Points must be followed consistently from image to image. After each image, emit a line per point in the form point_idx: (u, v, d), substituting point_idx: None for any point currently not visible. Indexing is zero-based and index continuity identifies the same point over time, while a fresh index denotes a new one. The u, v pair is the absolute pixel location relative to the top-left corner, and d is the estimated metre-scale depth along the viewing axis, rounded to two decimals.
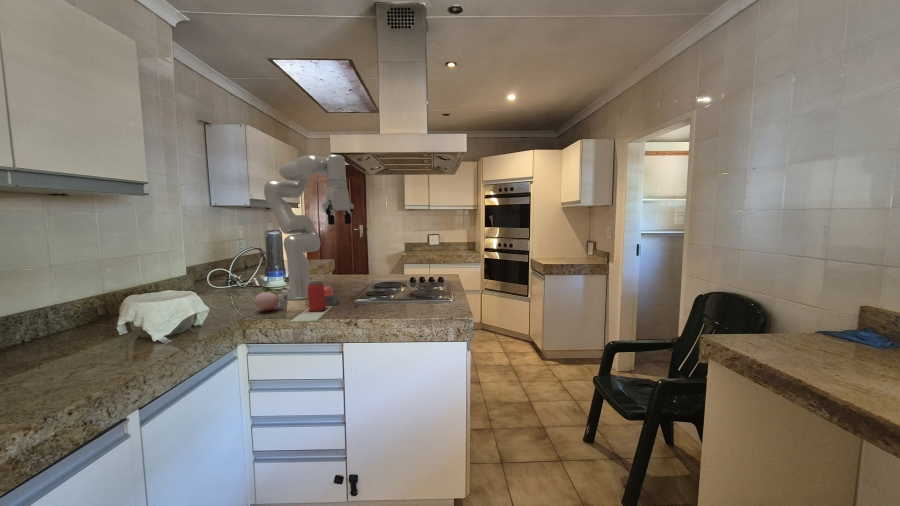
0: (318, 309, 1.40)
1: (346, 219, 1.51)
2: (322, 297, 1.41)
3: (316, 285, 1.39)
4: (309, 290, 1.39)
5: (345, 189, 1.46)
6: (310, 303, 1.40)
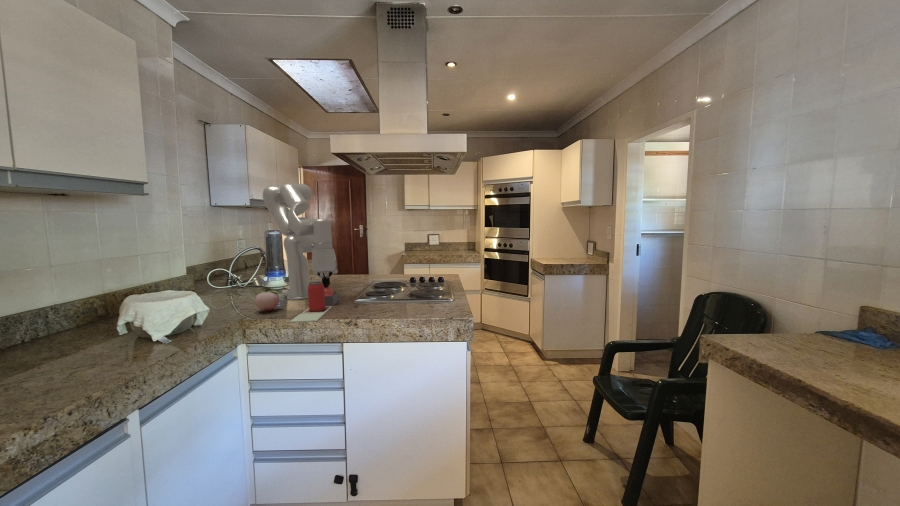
0: (318, 309, 1.40)
1: None
2: (322, 297, 1.41)
3: (316, 285, 1.39)
4: (309, 290, 1.39)
5: None
6: (310, 303, 1.40)
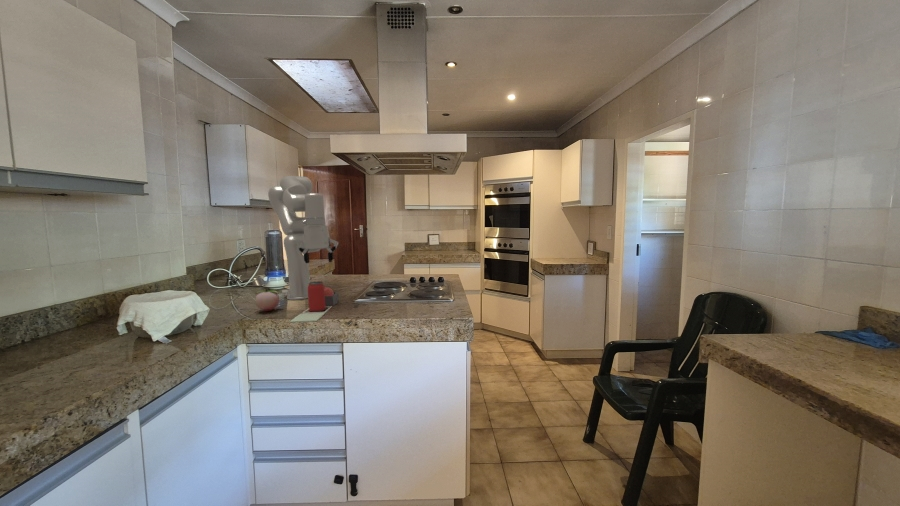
0: (318, 309, 1.40)
1: (307, 258, 1.43)
2: (322, 297, 1.41)
3: (316, 285, 1.39)
4: (309, 290, 1.39)
5: None
6: (310, 303, 1.40)
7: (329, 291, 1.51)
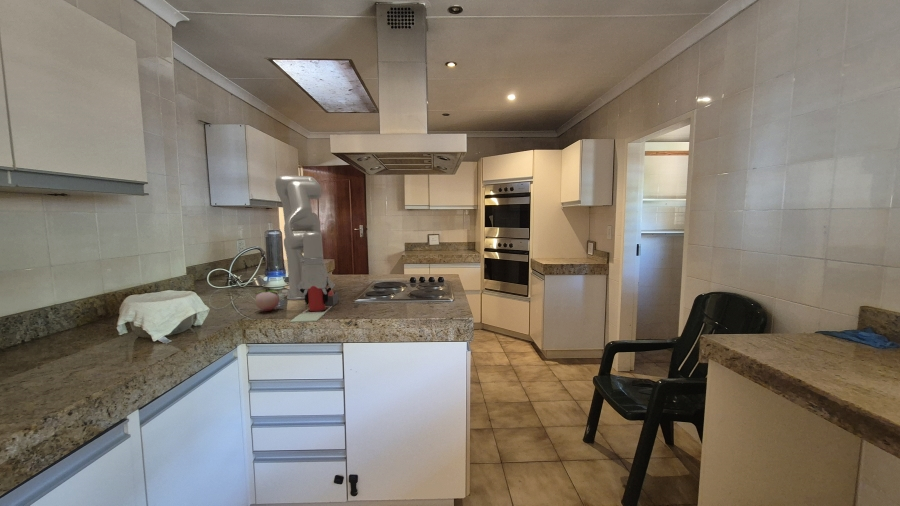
0: (318, 309, 1.40)
1: None
2: (322, 297, 1.41)
3: None
4: (309, 290, 1.39)
5: None
6: (310, 303, 1.40)
7: (329, 291, 1.51)
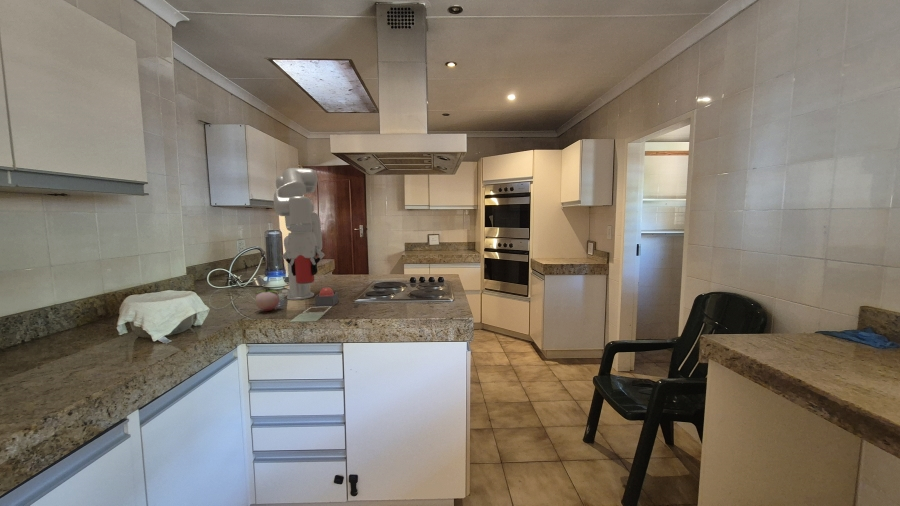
0: (306, 281, 1.28)
1: None
2: (310, 268, 1.29)
3: None
4: (296, 260, 1.27)
5: None
6: (297, 274, 1.27)
7: (329, 291, 1.51)
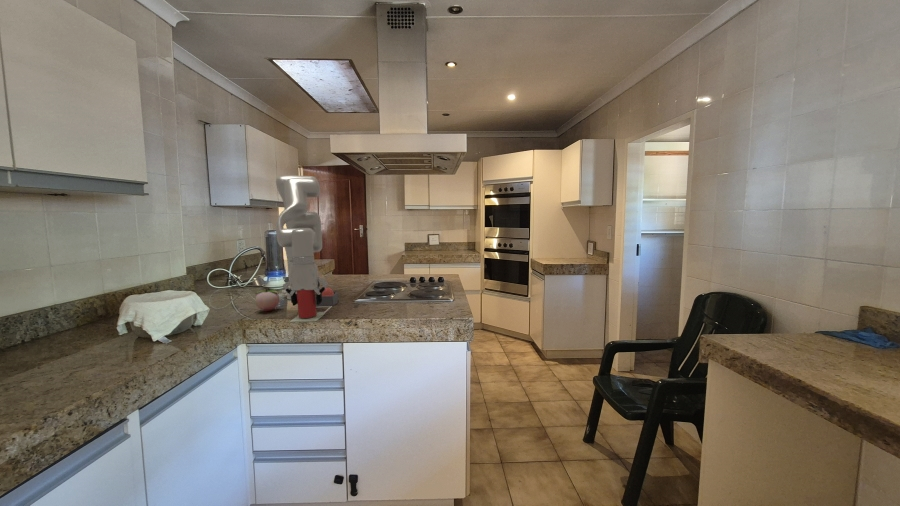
0: (308, 316, 1.29)
1: (295, 300, 1.31)
2: (313, 303, 1.30)
3: (306, 290, 1.28)
4: (298, 295, 1.28)
5: None
6: (299, 309, 1.29)
7: (329, 291, 1.51)
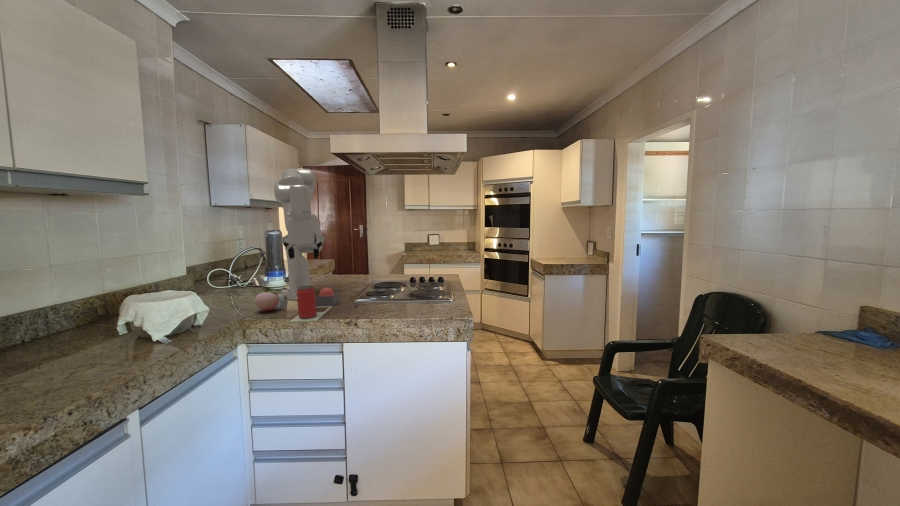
0: (308, 316, 1.29)
1: (292, 253, 1.36)
2: (313, 303, 1.30)
3: (306, 290, 1.28)
4: (298, 295, 1.28)
5: None
6: (300, 309, 1.29)
7: (329, 291, 1.51)
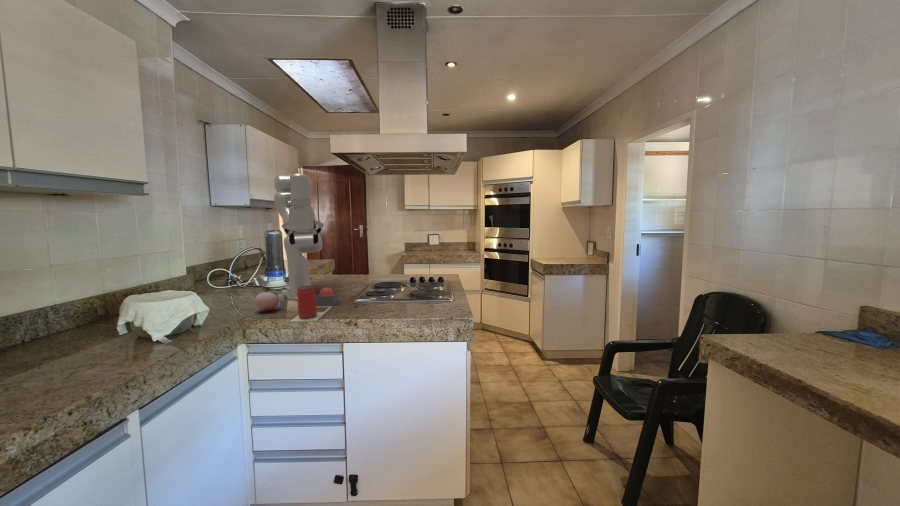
0: (308, 316, 1.29)
1: (292, 239, 1.43)
2: (313, 303, 1.30)
3: (306, 290, 1.28)
4: (299, 295, 1.28)
5: None
6: (300, 309, 1.29)
7: (329, 291, 1.51)
